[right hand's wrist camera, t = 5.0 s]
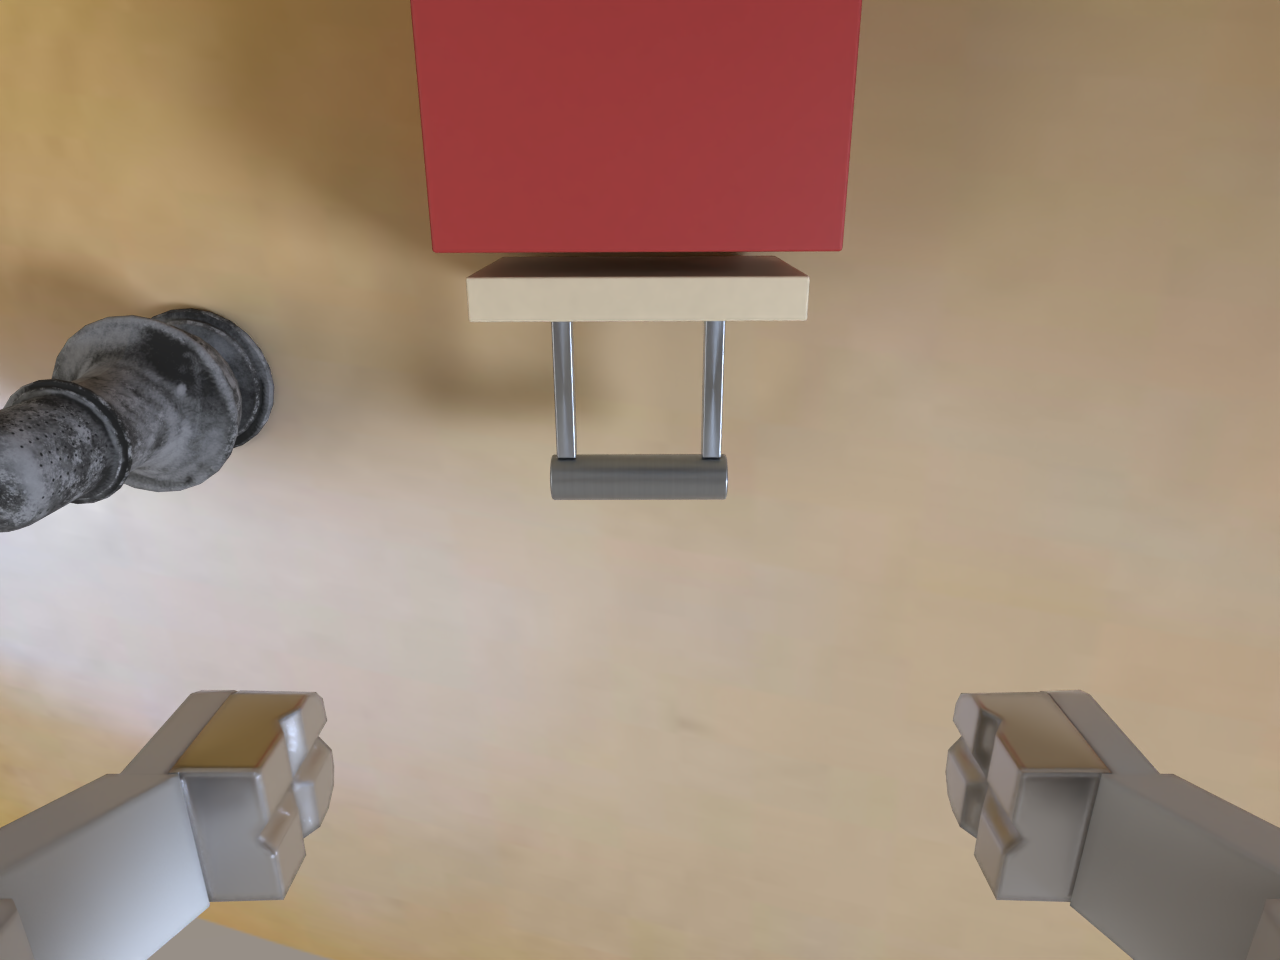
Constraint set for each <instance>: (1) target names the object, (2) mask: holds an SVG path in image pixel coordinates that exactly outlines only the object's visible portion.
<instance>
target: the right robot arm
mask: <svg viewBox="0 0 1280 960" xmlns="http://www.w3.org/2000/svg"><path fill="white" fill-rule="evenodd" d="M326 722H327V718H326V713H325V708H324V703H323V698H322V697H321V696H319V695H318V694H317V693H316V692H287V691H235V690H201V691H198V692H195V693H192V694H190V695H189V696H188V697H187V699H186V700H185V701H184V702H183V703H182V704H181V705H180V706H179V708H178V709H177V710H176V711H175V712H174V713H173V714H172V716H171V717H170V718H169V719H168V720H167V721H166V722H165V723H164V725H163V726H162V727H161V728H160V729H159V730H158V731H157V733H156V734H155V735H154V736H153V737H152V738H151V739H150V740H149V742H148V743H147V744H146V745H145V746H144V747H143V748H142V749H141V751H140V752H139V753H138V754H137V755H136V756H135V757H134V759H133V760H132V761H131V762H130V763H129V764H128V765H127V766H126V768H125V769H124V770H123V771H122V772H121V773H120V774H106V775H104V776H102V777H100V778H98V779H96V780H94V781H92V782H90V783H88V784H86V785H84V786H82V787H80V788H78V789H76V790H74V791H72V792H70V793H68V794H67V795H65V796H63V797H61V798H59V799H57V800H55V801H53V802H51V803H49V804H47V805H45V806H43V807H41V808H39V809H37V810H35V811H33V812H31V813H29V814H27V815H25V816H23V817H21V818H19V819H17V820H15V821H13V822H11V823H9V824H7V825H5V826H3V827H1V828H0V960H146V959H148V958H149V957H150V956H151V955H152V954H154V953H155V952H156V951H157V950H158V949H160V948H161V947H162V946H163V945H164V944H165V943H167V942H168V941H169V940H170V939H171V938H172V937H174V936H175V935H176V934H177V933H178V932H180V931H181V930H182V929H183V928H184V927H185V926H187V925H188V924H189V923H190V922H191V921H193V920H194V919H195V918H196V917H197V916H199V915H200V914H201V913H202V912H203V911H204V910H206V909H207V908H208V907H209V906H210V903H209V902H222V901H256V900H284V898H285V896H286V894H287V892H288V890H289V888H290V886H291V884H292V882H293V880H294V878H295V876H296V874H297V872H298V870H299V868H300V866H301V864H302V862H303V860H304V858H305V856H306V851H305V846H304V840H303V838H305V837H306V836H308V835H309V834H310V833H312V832H313V831H315V830H316V829H317V828H319V827H320V826H321V824H322V821H323V819H324V817H325V815H326V813H327V811H328V809H329V804H330V800H331V795H332V791H333V786H334V762H333V755H332V750H331V749H330V747H329V746H328V745H327V744H326V743H325V742H324V741H323V740H322V739H321V738H320V737H319V734H320V732H321V730H322V729H323V727H324V725H325V723H326ZM953 722H954V723H955V725H956V727H957V729H958V730H959V732H960V734H961V737H960V738H959V739H958V740H957V741H956V742H955V743H954V744H953V745H952V746H951V747H950V749H949V750H948V756H947V764H946V782H947V793H948V797H949V801H950V804H951V808H952V811H953V813H954V815H955V817H956V819H957V821H958V824H959V826H960V827H961V828H963V829H964V830H965V831H967V832H968V833H970V834H971V835H972V836H974V837H975V838H977V840H976V846H975V851H974V856H975V858H976V860H977V862H978V864H979V866H980V868H981V870H982V872H983V874H984V876H985V878H986V880H987V882H988V884H989V886H990V888H991V890H992V892H993V894H994V896H995V898H996V900H1022V901H1058V902H1071V903H1070V906H1071V907H1072V908H1074V909H1075V910H1076V911H1077V912H1078V913H1080V914H1081V915H1082V916H1083V917H1084V918H1085V919H1087V920H1088V921H1089V922H1090V923H1091V924H1092V925H1094V926H1095V927H1096V928H1097V929H1098V930H1100V931H1101V932H1102V933H1103V934H1104V935H1105V936H1107V937H1108V938H1109V939H1110V940H1111V941H1113V942H1114V943H1115V944H1116V945H1117V946H1118V947H1120V948H1121V949H1122V950H1123V951H1124V952H1125V953H1127V954H1128V955H1129V956H1130V957H1131V958H1133V959H1134V960H1280V828H1278V827H1276V826H1274V825H1272V824H1270V823H1269V822H1267V821H1265V820H1263V819H1261V818H1259V817H1257V816H1255V815H1253V814H1251V813H1249V812H1247V811H1245V810H1243V809H1241V808H1239V807H1237V806H1235V805H1233V804H1231V803H1229V802H1227V801H1225V800H1223V799H1221V798H1219V797H1217V796H1215V795H1213V794H1211V793H1209V792H1207V791H1206V790H1204V789H1202V788H1200V787H1198V786H1196V785H1194V784H1192V783H1190V782H1188V781H1186V780H1184V779H1182V778H1180V777H1178V776H1176V775H1174V774H1160V773H1159V772H1158V771H1157V770H1156V769H1155V768H1154V766H1153V765H1152V764H1151V763H1150V762H1149V761H1148V760H1147V759H1146V757H1145V756H1144V755H1143V754H1142V753H1141V752H1140V751H1139V750H1138V748H1137V747H1136V746H1135V745H1134V744H1133V743H1132V742H1131V740H1130V739H1129V738H1128V737H1127V736H1126V735H1125V734H1124V733H1123V731H1122V730H1121V729H1120V728H1119V727H1118V726H1117V725H1116V724H1115V722H1114V721H1113V720H1112V719H1111V718H1110V717H1109V716H1108V714H1107V713H1106V712H1105V711H1104V710H1103V709H1102V708H1101V707H1100V705H1099V704H1098V703H1097V702H1096V701H1095V700H1094V699H1093V697H1092V696H1091V695H1090V694H1088V693H1086V692H1083V691H1081V690H1059V691H1040V692H1005V693H961V694H960V696H959V698H958V700H957V702H956V706H955V711H954V717H953Z"/></svg>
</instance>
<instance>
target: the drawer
mask: <svg viewBox="0 0 1280 960" xmlns="http://www.w3.org/2000/svg"><path fill="white" fill-rule="evenodd" d="M809 282H810V278H809V276H808V275H806V274H804V273H803V272H801V271H799V270H797V269H796V268H794V267H792V266H791V265H789V264H787V263H786V262H784V261H782V260H781V259H779V258H777V257H775V256H637V257H502V258H500V259H499V260H497V261H495V262H493V263H492V264H490V265H488V266H486V267H484V268H483V269H481V270H479V271H477V272H476V273H474V274H472V275H470V276H469V277H467V278H466V289H467V302H468V315H469V321H470V322H551V324H552V348H553V372H554V396H555V420H556V444H557V455H553V456H552V459H551V467H550V487H551V495H552V498H553V499H554V500H681V499H726V496H727V488H728V466H727V458H726V455H724V454H721V438H722V407H723V376H724V345H725V321H805V320H806V319H807V312H808V297H809ZM600 321H704V342H703V385H702V429H701V454H635V455H576V454H577V434H576V403H575V372H574V342H573V322H600Z"/></svg>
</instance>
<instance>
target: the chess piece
mask: <svg viewBox="0 0 1280 960" xmlns="http://www.w3.org/2000/svg"><path fill="white" fill-rule="evenodd" d="M273 399H274V384H273V380H272V375H271V371H270V367H269V365H268V363H267V361H266V359H265V357H264V355H263V353H262V351H261V350H260V348H259V347H258V346H257V345H256V344H255V342H254V341H253V340H252V339H251V338H250V336H249V335H248V334H247V333H246V332H244V331H243V330H242V329H240V328H239V327H238V326H237V325H235V324H234V323H233V322H231V321H230V320H227V319H225V318H223V317H221V316H219V315H216V314H214V313H212V312H208V311H202V310H197V309H192V308H191V309H176V310H170V311H167V312H165V313H162V314H159V315H157V316H154V317H152V318H151V319H150V318H145V317H140V316H134V315H129V316H115V317H107V318H104V319H101V320H99V321H96V322H93V323H91V324H88V325H85V326H84V327H83V328H82V329H80V330H79V331H78V332H77V333H75V334H74V335H73V336H72V337H70V338H69V339H68V341H67V342H66V344H65V345H64V347H63V349H62V350H61V352H60V353H59V355H58V356H57V359H56V363H55V367H54V371H53V376H52V379H49V380H38V381H35V382H33V383H30V384H28V385H25V386H22V387H21V388H20V389H19V390H17V391H16V392H15V393H14V394H13V395H11V396H10V398H9V400H8V401H7V403H6V405H5V406H4V408H3V409H1V410H0V532H10V531H14V530H18V529H21V528H24V527H26V526H29V525H31V524H33V523H35V522H37V521H39V520H40V519H42V518H44V517H46V516H47V515H49V514H51V513H53V512H55V511H56V510H58V509H60V508H62V507H63V506H65V505H67V504H69V503H75V504H84V503H94V502H97V501H100V500H103V499H106V498H108V497H110V496H111V495H112V494H113V493H115V492H116V491H117V490H119V489H120V488H121V487H122V485H123V484H126V485H129V486H131V487H134V488H138V489H144V490H149V491H155V492H167V491H181V490H184V489H187V488H190V487H193V486H195V485H198V484H201V483H202V482H204V481H205V480H207V479H208V478H209V477H211V476H212V475H214V474H215V473H216V472H218V471H219V470H220V468H221V467H222V466H223V464H224V463H225V462H226V460H227V459H228V458H229V456H230V455H231V453H232V450H233V448H235V447H238V446H241V445H243V444H245V443H246V442H247V441H249V440H250V439H251V438H253V437H254V436H256V435H257V434H258V433H259V432H260V430H261V429H262V428H263V426H264V425H265V423H266V422H267V421H268V418H269V415H270V412H271V409H272V407H273Z"/></svg>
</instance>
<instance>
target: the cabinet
mask: <svg viewBox="0 0 1280 960" xmlns="http://www.w3.org/2000/svg"><path fill="white" fill-rule="evenodd" d="M410 4H411V15H412V26H413V37H414V49H415V60H416V71H417V82H418V93H419V104H420V116H421V127H422V138H423V149H424V160H425V172H426V183H427V194H428V205H429V216H430V227H431V239H432V249H433V252H435V253H519V252H773V251H841V250H842V247H843V234H844V221H845V209H846V196H847V184H848V171H849V158H850V146H851V133H852V121H853V108H854V95H855V83H856V70H857V58H858V45H859V32H860V20H861V7H862V0H410Z"/></svg>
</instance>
